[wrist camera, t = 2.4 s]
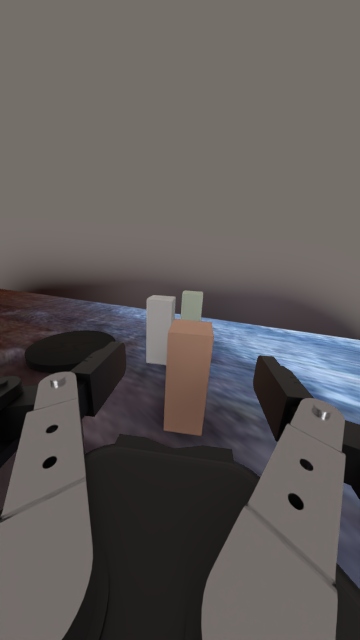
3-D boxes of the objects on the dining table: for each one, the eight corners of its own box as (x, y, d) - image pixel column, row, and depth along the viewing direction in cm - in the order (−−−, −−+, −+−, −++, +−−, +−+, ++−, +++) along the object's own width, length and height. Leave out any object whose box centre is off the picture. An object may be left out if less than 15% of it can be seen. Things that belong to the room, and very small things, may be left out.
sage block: (179, 345, 49) (182, 293, 45) (181, 338, 54) (184, 290, 50) (197, 347, 49) (203, 295, 45) (198, 340, 54) (202, 292, 49)
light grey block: (146, 362, 40) (146, 299, 36) (152, 352, 45) (153, 295, 41) (169, 365, 40) (172, 301, 36) (172, 354, 45) (175, 296, 40)
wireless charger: (130, 349, 46) (130, 342, 46) (53, 386, 32) (51, 376, 31) (88, 332, 55) (87, 326, 54) (11, 355, 41) (9, 347, 40)
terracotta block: (163, 430, 25) (167, 332, 20) (169, 403, 29) (174, 318, 25) (201, 435, 24) (213, 336, 20) (201, 407, 29) (211, 322, 25)
